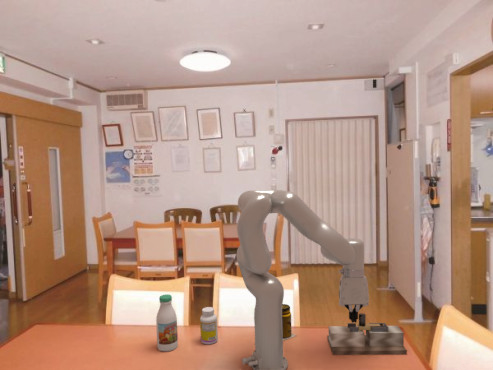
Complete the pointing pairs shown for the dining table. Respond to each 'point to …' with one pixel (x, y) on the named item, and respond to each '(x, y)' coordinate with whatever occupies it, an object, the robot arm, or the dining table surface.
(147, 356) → the dining table surface
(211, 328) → the supplement bottle
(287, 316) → the condiment
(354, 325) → the lock hardware
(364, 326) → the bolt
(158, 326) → the milk bottle
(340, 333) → the grey brown double block
